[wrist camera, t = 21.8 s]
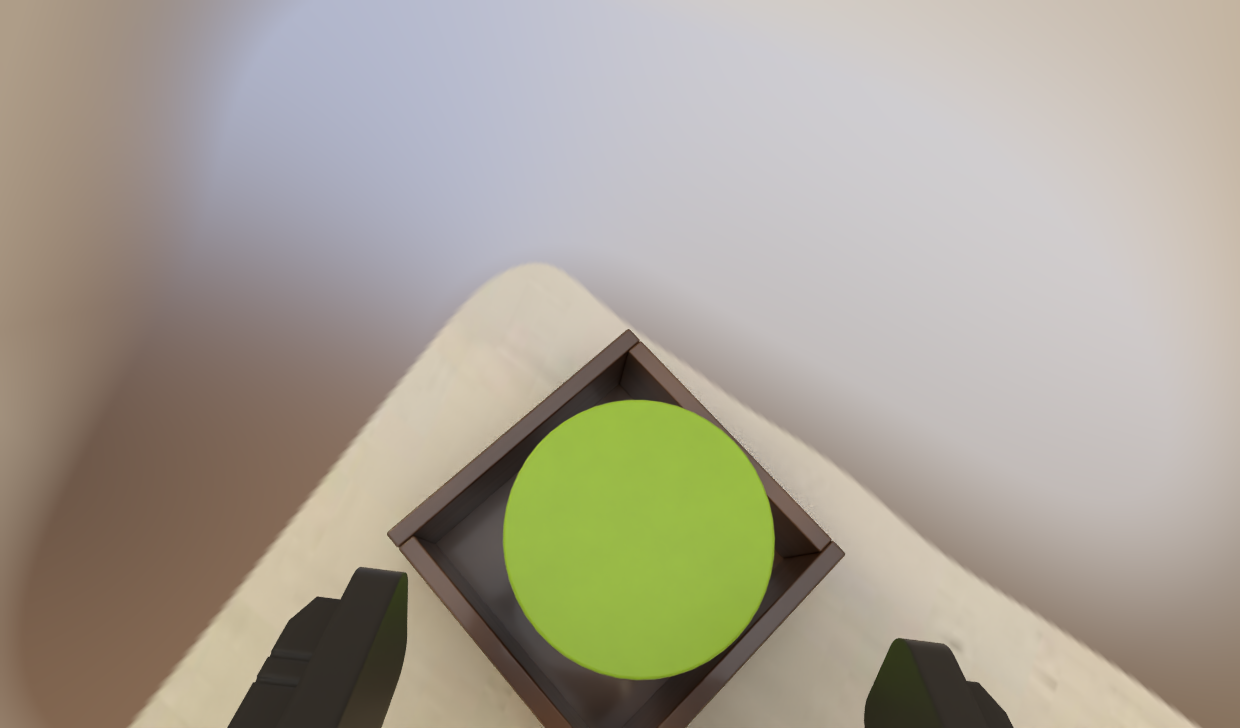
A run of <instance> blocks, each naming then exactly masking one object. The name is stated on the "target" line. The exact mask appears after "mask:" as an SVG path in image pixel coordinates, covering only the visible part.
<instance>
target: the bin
mask: <svg viewBox="0 0 1240 728" xmlns="http://www.w3.org/2000/svg"><path fill="white" fill-rule="evenodd" d="M639 341H640V340H639V339H638V338H637V337H636V336H635V334H634V333H633V332H632V331H631V330H629V329H628V330H626V331H625V332H624V333H623V334H621V335H620V336H619V337H618V338H617V339H615V340H614V341H613V342H612V343H611V344H610V345H608V346H607V347H606V348H605V349H604V350H602V351H601V352H600V353H599V354H598V355H597V356H595V357H594V358H593V359H592V360H591V361H589V362H588V363H587V364H586V365H585V366H584V367H582V368H581V369H580V370H579V371H578V372H576V373H575V374H574V375H573V376H572V377H570V378H569V379H568V380H567V381H566V382H565V383H563V384H562V385H561V386H560V387H559V388H557V389H556V390H555V391H554V392H553V393H552V394H550V395H549V396H548V397H547V398H546V399H544V400H543V401H542V402H541V403H540V404H539V405H537V406H536V407H535V408H534V409H533V410H531V411H530V412H529V413H528V414H527V415H526V416H524V417H523V418H522V419H521V420H520V421H518V422H517V423H516V424H515V425H514V426H512V427H511V428H510V429H509V430H508V431H507V432H505V433H504V434H503V435H502V436H501V437H499V438H498V439H497V440H496V441H495V442H494V443H492V444H491V445H490V446H489V447H488V448H486V449H485V450H484V451H483V452H482V453H481V454H479V455H478V456H477V457H476V458H475V459H473V460H472V461H471V462H470V463H469V464H468V465H466V466H465V467H464V468H463V469H462V470H460V471H459V472H458V473H457V474H456V475H455V476H453V477H452V478H451V479H450V480H449V481H447V482H446V483H445V484H444V485H443V486H441V487H440V488H439V489H438V490H437V491H436V492H434V493H433V494H432V495H431V496H430V497H428V498H427V499H426V500H425V501H424V502H423V503H421V504H420V505H419V506H418V507H417V508H415V509H414V510H413V511H412V512H411V513H410V514H408V515H407V516H406V517H405V518H404V519H402V520H401V521H400V522H399V523H398V524H397V525H395V526H394V527H393V528H392V529H391V530H389V531H388V532H387V535H388V537H389V538H390V539H391V540H392V542H393V543H394V544H395V545H396V546H397V547H399V550H400V551H401V553H402V554H403V555H404V556H405V557H406V559H407V560H408V561H409V562H410V564H411V565H412V566H413V567H414V568H415V570H416V571H417V572H418V573H419V575H420V576H421V577H422V578H423V579H424V581H425V582H426V583H427V584H428V586H429V587H430V588H431V589H432V590H433V592H434V593H435V594H436V595H437V597H438V598H439V599H440V600H441V601H442V603H443V604H444V605H445V606H446V608H447V609H448V610H449V611H450V612H451V614H452V615H453V616H454V617H455V618H456V620H457V621H458V622H459V623H460V625H461V626H462V627H463V628H464V629H465V631H466V632H467V633H468V634H469V636H470V637H471V638H472V639H473V640H474V642H475V643H476V644H477V645H478V647H479V648H480V649H481V650H482V651H483V653H484V654H485V655H486V656H487V658H488V659H489V660H490V661H491V662H492V664H493V665H494V666H495V667H496V669H497V670H498V671H499V672H500V673H501V675H502V676H503V677H504V678H505V680H506V681H507V682H508V683H509V684H510V686H511V687H512V688H513V689H514V691H515V692H516V693H517V694H518V695H519V697H520V698H521V699H522V700H523V702H524V703H525V704H526V705H527V706H528V708H529V709H530V710H531V711H532V713H533V714H534V715H535V716H536V717H537V719H538V720H539V721H540V722H541V724H542V725H543V726H544V727H545V728H686V727H687V726H688V724H689V723H690V722H691V721H692V720H693V719H694V718H695V717H696V716H697V715H698V714H699V713H700V711H701V710H702V709H703V708H704V707H705V706H706V705H707V704H708V703H709V702H710V701H711V700H712V699H713V697H714V696H715V695H716V694H717V693H718V692H719V691H720V690H721V689H722V688H723V687H724V686H725V684H726V683H727V682H728V681H729V680H730V679H731V678H732V677H733V676H734V675H735V674H736V673H737V671H738V670H739V669H740V668H741V667H742V666H743V665H744V664H745V663H746V662H747V661H748V660H749V659H750V657H751V656H752V655H753V654H754V653H755V652H756V651H757V650H758V649H759V648H760V647H761V646H762V644H763V643H764V642H765V641H766V640H767V639H768V638H769V637H770V636H771V635H772V634H773V633H774V631H775V630H776V629H777V628H778V627H779V626H780V625H781V624H782V623H783V622H784V621H785V620H786V619H787V617H788V616H789V615H790V614H791V613H792V612H793V611H794V610H795V609H796V608H797V607H798V606H799V604H800V603H801V602H802V601H803V600H804V599H805V598H806V597H807V596H808V595H809V594H810V593H811V591H812V590H813V589H814V588H815V587H816V586H817V585H818V584H819V583H820V582H821V581H822V580H823V579H824V577H825V576H826V575H827V574H828V573H829V572H830V571H831V570H832V569H833V568H834V567H835V566H836V564H837V563H838V562H839V561H840V560H841V559H842V558H843V557H844V556H845V553H844V551H843V550H842V549H841V548H840V547H839V546H838V545H837V544H836V543H835V542H834V541H831V538H830V537H829V536H828V535H827V534H826V533H825V532H824V531H823V530H822V529H821V528H820V527H819V525H818V524H817V523H816V522H815V521H814V520H813V519H812V518H811V517H810V516H809V515H808V514H807V513H806V512H805V511H804V510H803V509H802V508H801V507H800V506H799V505H798V504H797V503H796V502H795V501H794V500H793V498H792V497H791V496H790V495H789V494H788V493H787V492H786V491H785V490H784V489H783V488H782V487H781V486H780V485H779V484H778V483H777V482H776V481H775V480H774V479H773V478H772V477H771V476H770V475H769V474H768V473H767V471H766V470H765V469H764V468H763V467H762V466H761V465H760V464H759V463H758V462H757V461H756V460H755V459H754V458H753V457H752V456H751V455H750V454H749V453H748V452H747V451H746V450H745V449H744V448H743V447H742V446H741V444H740V443H739V442H738V441H737V440H736V439H735V438H734V437H733V436H732V435H731V434H730V433H729V432H728V431H727V430H726V429H725V428H724V427H723V426H722V425H721V424H720V423H719V422H718V421H717V420H716V419H715V417H714V416H713V415H712V414H711V413H710V412H709V411H708V410H707V409H706V408H705V407H704V406H703V405H702V404H701V403H700V402H699V401H698V400H697V399H696V398H695V397H694V396H693V395H692V394H691V393H690V392H689V390H688V389H687V388H686V387H685V386H684V385H683V384H682V383H681V382H680V381H679V380H678V379H677V378H676V377H675V376H674V375H673V374H672V373H671V372H670V371H669V370H668V369H667V368H666V367H665V366H664V365H663V363H662V362H661V361H660V360H659V359H658V358H657V357H656V356H655V355H654V354H653V353H652V352H651V351H650V350H649V349H648V348H647V347H646V346H645V345H644V344H643V343H642V342H641V341H640V342H639ZM624 400H649V401H657V402H663V403H667V404H671V405H675V406H678V407H681V408H684V409H686V410H689V411H691V412H694V413H695V414H697V415H699V416H701V417H703V418H705V419H707V420H708V421H710V422H711V423H713V424H714V425H715V426H717V427H718V428H720V429H721V430H722V431H723V432H724V433H725V434H727V435H728V436H729V437H730V438H731V439H732V440H733V441H734V442H735V443H736V444H737V445H738V446H739V448H740V449H741V450H742V451H743V452H744V453H745V455H746V456H747V458H748V459H749V461H750V462H751V464H752V465H753V467H754V468H755V470H756V472H757V474H758V476H759V478H760V480H761V482H762V484H763V486H764V489H765V492H766V494H767V497H768V500H769V503H770V508H771V513H772V517H773V524H774V535H775V545H774V560H773V566H772V572H771V576H770V580H769V583H768V587H767V590H766V593H765V595H764V597H763V599H762V602H761V604H760V606H759V608H758V610H757V612H756V613H755V615H754V617H753V618H752V620H751V621H750V623H749V624H748V626H747V627H746V628H745V629H744V631H743V632H742V633H741V634H740V635H739V637H738V638H737V639H736V640H735V641H734V642H733V643H732V644H731V645H729V646H728V647H727V648H726V649H725V650H724V651H723V652H721V653H720V654H718V655H717V656H716V657H714V658H713V659H711V660H710V661H708V662H707V663H705V664H703V665H701V666H699V667H697V668H695V669H693V670H690V671H687V672H684V673H681V674H678V675H675V676H671V677H666V678H661V679H654V680H630V679H620V678H615V677H611V676H607V675H603V674H599V673H597V672H594V671H592V670H589V669H587V668H584V667H582V666H580V665H578V664H577V663H575V662H573V661H571V660H570V659H568V658H566V657H565V656H563V655H562V654H561V653H560V652H558V651H557V650H556V649H555V648H553V647H552V646H551V645H550V644H549V643H548V642H547V641H546V640H545V639H544V638H543V637H542V636H541V635H540V634H539V633H538V632H537V631H536V629H535V628H534V627H533V625H532V624H531V623H530V621H529V620H528V619H527V617H526V616H525V614H524V612H523V610H522V609H521V607H520V605H519V603H518V601H517V599H516V597H515V594H514V592H513V589H512V587H511V584H510V582H509V578H508V573H507V569H506V565H505V559H504V550H503V524H504V518H505V511H506V506H507V502H508V499H509V495H510V492H511V489H512V487H513V484H514V482H515V480H516V477H517V475H518V473H519V471H520V469H521V468H522V466H523V464H524V463H525V461H526V459H527V458H528V456H529V455H530V454H531V453H532V451H533V450H534V449H535V447H536V446H537V445H538V444H539V443H540V442H541V441H542V440H543V439H544V438H545V437H546V436H547V435H548V434H549V433H550V432H551V431H552V430H554V429H555V428H556V427H558V426H559V425H560V424H562V423H563V422H564V421H566V420H568V419H570V418H571V417H573V416H575V415H577V414H578V413H580V412H583V411H585V410H588V409H590V408H593V407H595V406H599V405H603V404H606V403H610V402H617V401H624Z"/></svg>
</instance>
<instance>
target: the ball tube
mask: <svg viewBox="0 0 1240 728" xmlns="http://www.w3.org/2000/svg"><path fill="white" fill-rule="evenodd" d="M774 545H775V535H774V524H773V517H772V513H771V508H770V503H769V500H768V497H767V494H766V492H765V489H764V486H763V484H762V482H761V480H760V478H759V476H758V474H757V472H756V470H755V468H754V467H753V465H752V464H751V462H750V461H749V459H748V458H747V456H746V455H745V453H744V452H743V451H742V450H741V449H740V448H739V446H738V445H737V444H736V443H735V442H734V441H733V440H732V439H731V438H730V437H729V436H728V435H727V434H725V433H724V432H723V431H722V430H721V429H720V428H718V427H717V426H715V425H714V424H713V423H711V422H710V421H708V420H707V419H705V418H703V417H701V416H699V415H697V414H695V413H694V412H691V411H689V410H686V409H684V408H681V407H678V406H675V405H671V404H667V403H663V402H657V401H649V400H624V401H617V402H610V403H606V404H603V405H599V406H595V407H593V408H590V409H588V410H585V411H583V412H580V413H578V414H577V415H575V416H573V417H571V418H570V419H568V420H566V421H564V422H563V423H562V424H560V425H559V426H558V427H556V428H555V429H554V430H552V431H551V432H550V433H549V434H548V435H547V436H546V437H545V438H544V439H543V440H542V441H541V442H540V443H539V444H538V445H537V446H536V447H535V449H534V450H533V451H532V453H531V454H530V455H529V456H528V458H527V459H526V461H525V463H524V464H523V466H522V468H521V469H520V471H519V473H518V475H517V477H516V480H515V482H514V484H513V487H512V489H511V492H510V495H509V499H508V502H507V506H506V511H505V518H504V524H503V550H504V559H505V565H506V569H507V573H508V578H509V582H510V584H511V587H512V589H513V592H514V594H515V597H516V599H517V601H518V603H519V605H520V607H521V609H522V610H523V612H524V614H525V616H526V617H527V619H528V620H529V621H530V623H531V624H532V625H533V627H534V628H535V629H536V631H537V632H538V633H539V634H540V635H541V636H542V637H543V638H544V639H545V640H546V641H547V642H548V643H549V644H550V645H551V646H552V647H553V648H555V649H556V650H557V651H558V652H560V653H561V654H562V655H563V656H565V657H566V658H568V659H570V660H571V661H573V662H575V663H577V664H578V665H580V666H582V667H584V668H587V669H589V670H592V671H594V672H597V673H599V674H603V675H607V676H611V677H615V678H620V679H630V680H654V679H661V678H666V677H671V676H675V675H678V674H681V673H684V672H687V671H690V670H693V669H695V668H697V667H699V666H701V665H703V664H705V663H707V662H708V661H710V660H711V659H713V658H714V657H716V656H717V655H718V654H720V653H721V652H723V651H724V650H725V649H726V648H727V647H728V646H729V645H731V644H732V643H733V642H734V641H735V640H736V639H737V638H738V637H739V635H740V634H741V633H742V632H743V631H744V629H745V628H746V627H747V626H748V624H749V623H750V621H751V620H752V618H753V617H754V615H755V613H756V612H757V610H758V608H759V606H760V604H761V602H762V599H763V597H764V595H765V593H766V590H767V587H768V583H769V580H770V576H771V572H772V566H773V560H774Z"/></svg>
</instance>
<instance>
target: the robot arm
mask: <svg viewBox="0 0 1240 728" xmlns="http://www.w3.org/2000/svg"><path fill="white" fill-rule="evenodd" d="M407 602H408V577H407V574H406V573H404V572H396V571H388V570H381V569H373V568H365V567H359V568H358V569H357V570H356V571H355V573H354V574H353V576H352V578H351V580H350V582H349V584H348V586H347V588H346V590H345V592H344V594H343V596H342V598H341V600H340V599H332V598H324V597H316V598H315V599H314V600H313V601H311V602H310V603H309V604H308V605H307V606H305V607H304V608H303V609H302V610H301V611H300V612H298V613H297V614H296V615H295V616H294V617H293V618H291V619H290V620H289V621H288V623H287V625H286V626H285V628H284V630H283V632H282V633H281V635H280V637H279V639H278V640H277V642H276V644H275V646H274V647H273V649H272V651H271V655H270V657H268V658H267V659H266V661H265V663H264V665H263V666H262V668H261V670H260V672H259V673H258V675H257V679H256V682H255V683H254V682H253V684H252V686H251V687H250V689H249V691H248V693H247V694H246V696H245V698H244V699H243V701H242V703H241V705H240V706H239V708H238V710H237V712H236V713H235V715H234V717H233V719H232V720H231V722H230V724H229V726H228V727H227V728H381V727H382V724H383V722H384V719H385V716H386V713H387V711H388V708H389V705H390V702H391V699H392V697H393V694H394V691H395V688H396V686H397V683H398V680H399V677H400V673H401V670H402V666H403V662H404V657H405V651H406V644H407ZM864 724H865V728H1013V726H1012V724H1011V722H1010V720H1009V718H1008V716H1007V714H1006V712H1005V711H1004V710H1003V709H1002V708H1001V707H1000V706H999V705H998V704H997V702H996V701H995V700H994V699H993V698H992V697H991V696H990V695H989V694H988V692H987V691H986V690H985V689H984V688H983V687H982V686H981V685H980V684H979V683H978V682H970V681H966V679H965V677H964V675H963V673H962V671H961V669H960V667H959V665H958V663H957V661H956V659H955V656H954V655H953V653H952V651H951V650H950V648H949V647H948V646H946V645H945V644H940V643H933V642H925V641H917V640H909V639H902V638H898V639H896V640H894V641H893V643H892V644H891V646H890V648H889V651H888V653H887V655H886V657H885V659H884V662H883V664H882V666H881V668H880V671H879V673H878V675H877V677H876V680H875V682H874V684H873V686H872V688H871V691H870V693H869V695H868V698H867V701H866V705H865V713H864Z"/></svg>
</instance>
